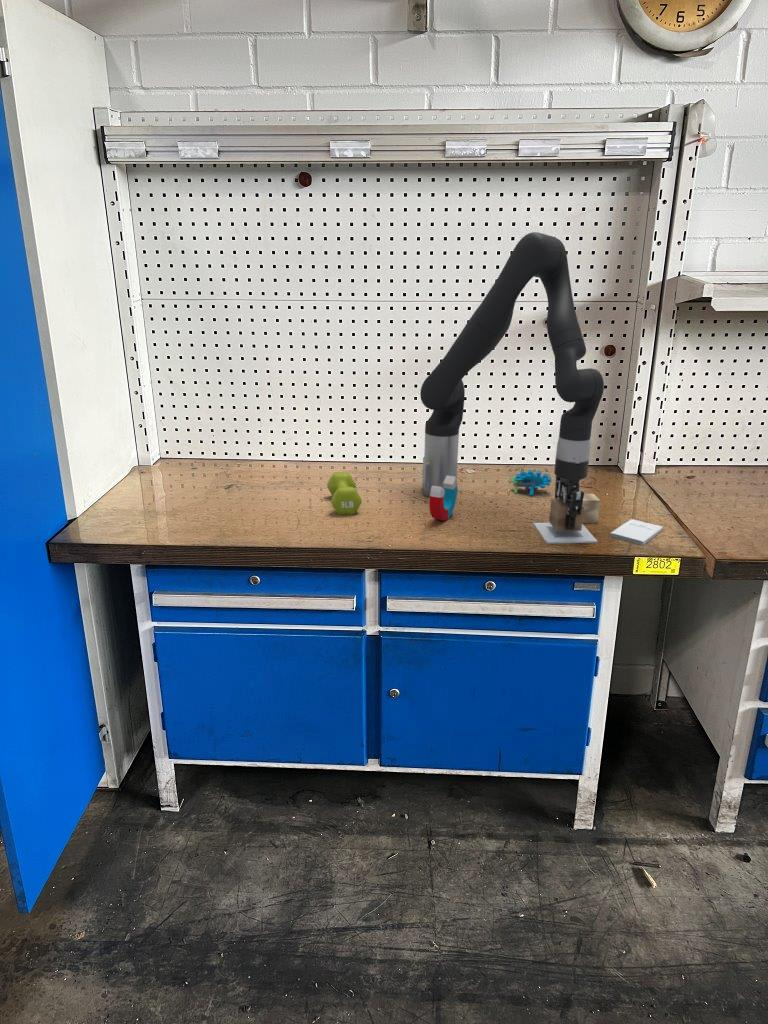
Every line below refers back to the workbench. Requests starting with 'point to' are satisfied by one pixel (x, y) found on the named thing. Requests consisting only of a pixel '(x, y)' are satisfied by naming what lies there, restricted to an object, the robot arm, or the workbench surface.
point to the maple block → (590, 508)
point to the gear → (530, 480)
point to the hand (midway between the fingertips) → (565, 523)
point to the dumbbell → (344, 493)
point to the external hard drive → (636, 532)
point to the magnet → (443, 499)
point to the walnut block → (563, 516)
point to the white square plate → (564, 534)
